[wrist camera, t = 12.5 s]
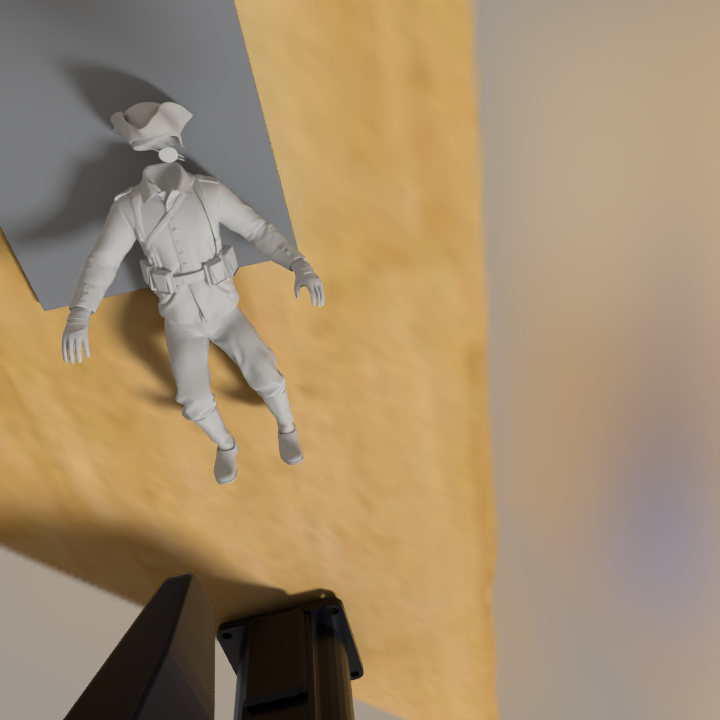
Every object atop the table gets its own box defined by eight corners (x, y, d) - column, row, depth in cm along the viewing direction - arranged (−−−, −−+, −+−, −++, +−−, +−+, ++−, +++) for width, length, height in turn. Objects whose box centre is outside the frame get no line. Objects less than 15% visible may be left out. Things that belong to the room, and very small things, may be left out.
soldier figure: (134, 515, 19) (-51, 167, 11) (136, 422, 22) (-3, 113, 15) (349, 454, 20) (309, 112, 13) (317, 376, 24) (273, 76, 17)
